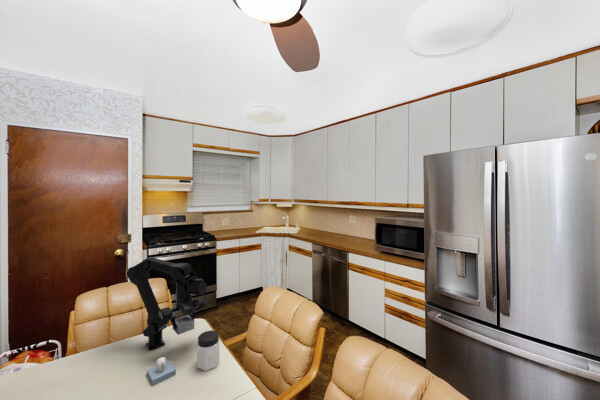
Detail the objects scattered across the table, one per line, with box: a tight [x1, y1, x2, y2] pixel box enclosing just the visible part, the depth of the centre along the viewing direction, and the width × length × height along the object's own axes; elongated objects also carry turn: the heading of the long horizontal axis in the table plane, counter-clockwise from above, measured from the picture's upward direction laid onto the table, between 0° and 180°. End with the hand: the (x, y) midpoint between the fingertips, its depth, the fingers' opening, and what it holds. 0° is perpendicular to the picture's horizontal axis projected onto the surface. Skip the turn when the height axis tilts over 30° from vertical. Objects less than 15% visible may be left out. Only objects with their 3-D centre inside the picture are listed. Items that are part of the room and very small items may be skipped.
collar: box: [172, 314, 195, 336], centre depth 112 cm, size 7×7×4 cm
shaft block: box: [146, 356, 177, 386], centre depth 97 cm, size 8×8×6 cm
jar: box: [196, 330, 220, 372], centre depth 103 cm, size 9×8×12 cm
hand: (183, 326), depth 112 cm, fingers closed on collar, 7 cm apart
